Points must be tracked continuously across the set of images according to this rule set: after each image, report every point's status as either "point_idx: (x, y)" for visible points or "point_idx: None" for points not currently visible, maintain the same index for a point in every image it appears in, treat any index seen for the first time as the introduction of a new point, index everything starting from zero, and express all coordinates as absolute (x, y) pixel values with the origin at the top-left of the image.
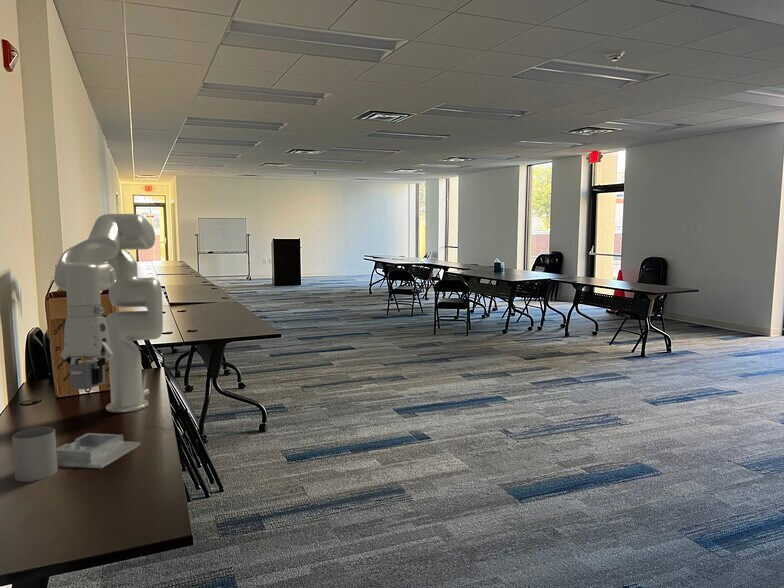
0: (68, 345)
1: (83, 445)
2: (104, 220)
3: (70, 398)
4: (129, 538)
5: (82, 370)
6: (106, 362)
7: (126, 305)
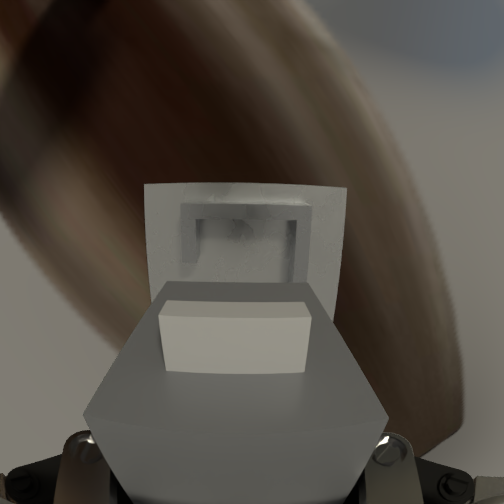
0: None
1: (199, 239)
2: None
3: None
4: (425, 445)
5: None
6: (441, 465)
7: None
